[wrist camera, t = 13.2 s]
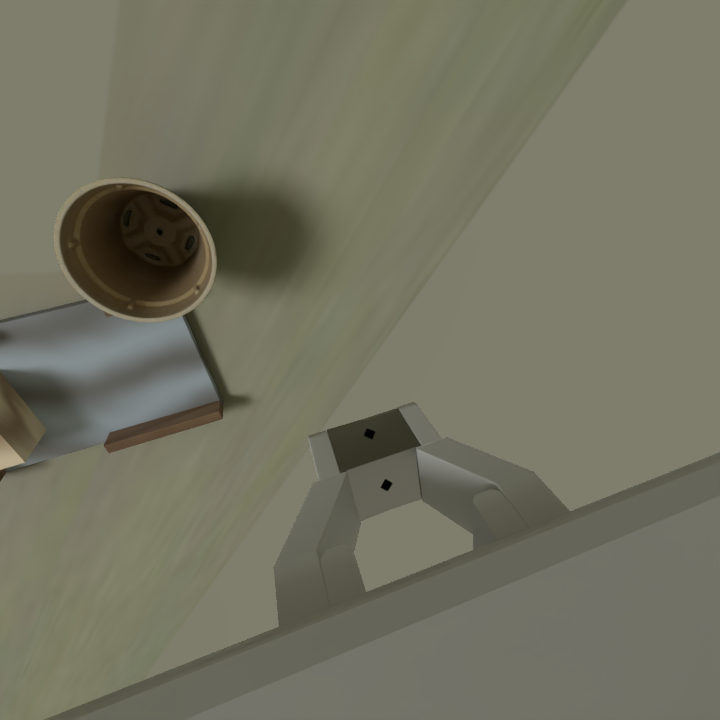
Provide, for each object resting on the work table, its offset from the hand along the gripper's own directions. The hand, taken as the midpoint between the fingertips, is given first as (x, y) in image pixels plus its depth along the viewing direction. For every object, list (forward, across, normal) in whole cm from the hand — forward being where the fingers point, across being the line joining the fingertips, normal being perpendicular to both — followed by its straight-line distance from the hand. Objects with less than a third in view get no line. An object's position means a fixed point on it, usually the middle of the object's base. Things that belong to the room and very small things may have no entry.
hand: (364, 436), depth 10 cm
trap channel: (+29, +22, +9) cm, 38 cm away
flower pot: (+29, +9, -2) cm, 31 cm away
